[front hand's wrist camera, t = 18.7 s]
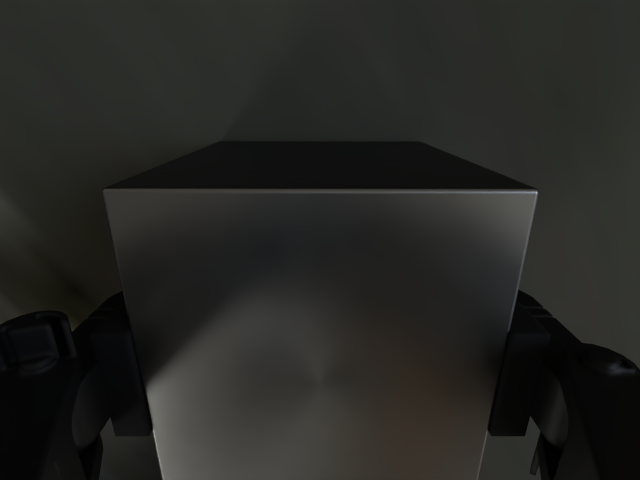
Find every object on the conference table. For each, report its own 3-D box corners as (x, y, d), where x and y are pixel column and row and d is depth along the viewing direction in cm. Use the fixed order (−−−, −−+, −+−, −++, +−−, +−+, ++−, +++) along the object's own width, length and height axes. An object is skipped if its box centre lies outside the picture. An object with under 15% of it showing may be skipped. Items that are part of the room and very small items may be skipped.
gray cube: (218, 141, 14) (98, 187, 6) (422, 141, 14) (542, 188, 6) (236, 332, 17) (168, 517, 9) (404, 332, 17) (471, 518, 9)
